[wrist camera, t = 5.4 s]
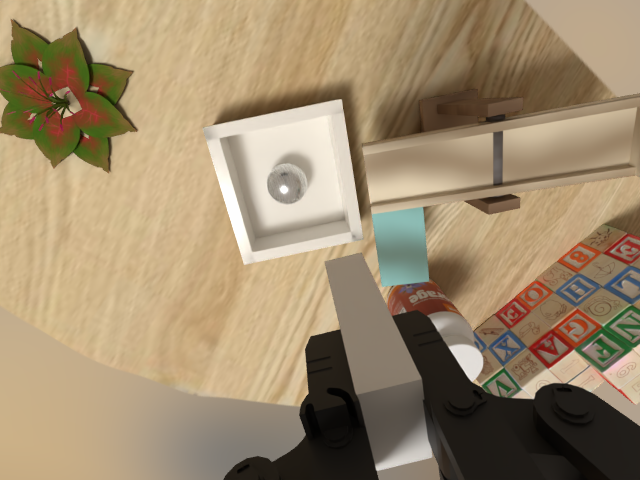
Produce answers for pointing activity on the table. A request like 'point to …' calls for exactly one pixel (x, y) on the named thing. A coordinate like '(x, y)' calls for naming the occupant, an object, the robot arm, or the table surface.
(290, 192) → the ball
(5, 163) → the table surface
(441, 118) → the fulcrum
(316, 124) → the white square tray
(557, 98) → the table surface
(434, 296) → the pill bottle
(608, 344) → the stack of blocks
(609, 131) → the lever
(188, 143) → the table surface
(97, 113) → the lily flower
